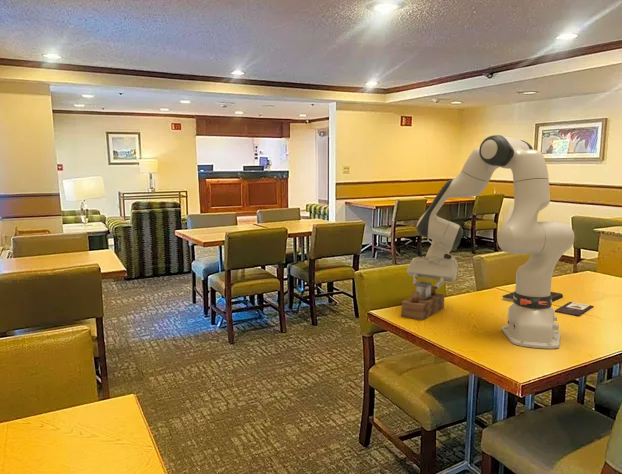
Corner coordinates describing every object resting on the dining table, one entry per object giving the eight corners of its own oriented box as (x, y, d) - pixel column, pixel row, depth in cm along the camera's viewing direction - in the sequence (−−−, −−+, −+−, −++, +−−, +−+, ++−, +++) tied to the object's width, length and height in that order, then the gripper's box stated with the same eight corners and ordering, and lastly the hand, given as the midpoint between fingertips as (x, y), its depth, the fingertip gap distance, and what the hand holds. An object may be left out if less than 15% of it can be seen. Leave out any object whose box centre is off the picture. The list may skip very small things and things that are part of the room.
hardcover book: (501, 300, 207) (501, 295, 207) (527, 292, 221) (527, 287, 221) (538, 308, 195) (538, 303, 195) (562, 298, 209) (563, 293, 209)
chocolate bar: (554, 310, 188) (569, 301, 201) (554, 312, 188) (569, 303, 201) (579, 315, 182) (593, 305, 194) (578, 317, 182) (593, 308, 194)
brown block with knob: (422, 320, 180) (423, 295, 178) (401, 316, 185) (401, 291, 184) (444, 308, 195) (444, 284, 194) (423, 304, 201) (424, 281, 199)
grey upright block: (425, 307, 186) (425, 285, 185) (415, 305, 189) (416, 283, 188) (431, 304, 190) (431, 282, 189) (421, 302, 193) (421, 281, 192)
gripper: (411, 251, 201) (399, 278, 195) (458, 256, 188) (447, 285, 182) (415, 260, 205) (404, 286, 199) (461, 266, 192) (451, 294, 186)
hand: (425, 286), depth 190 cm, fingers open, 8 cm apart
